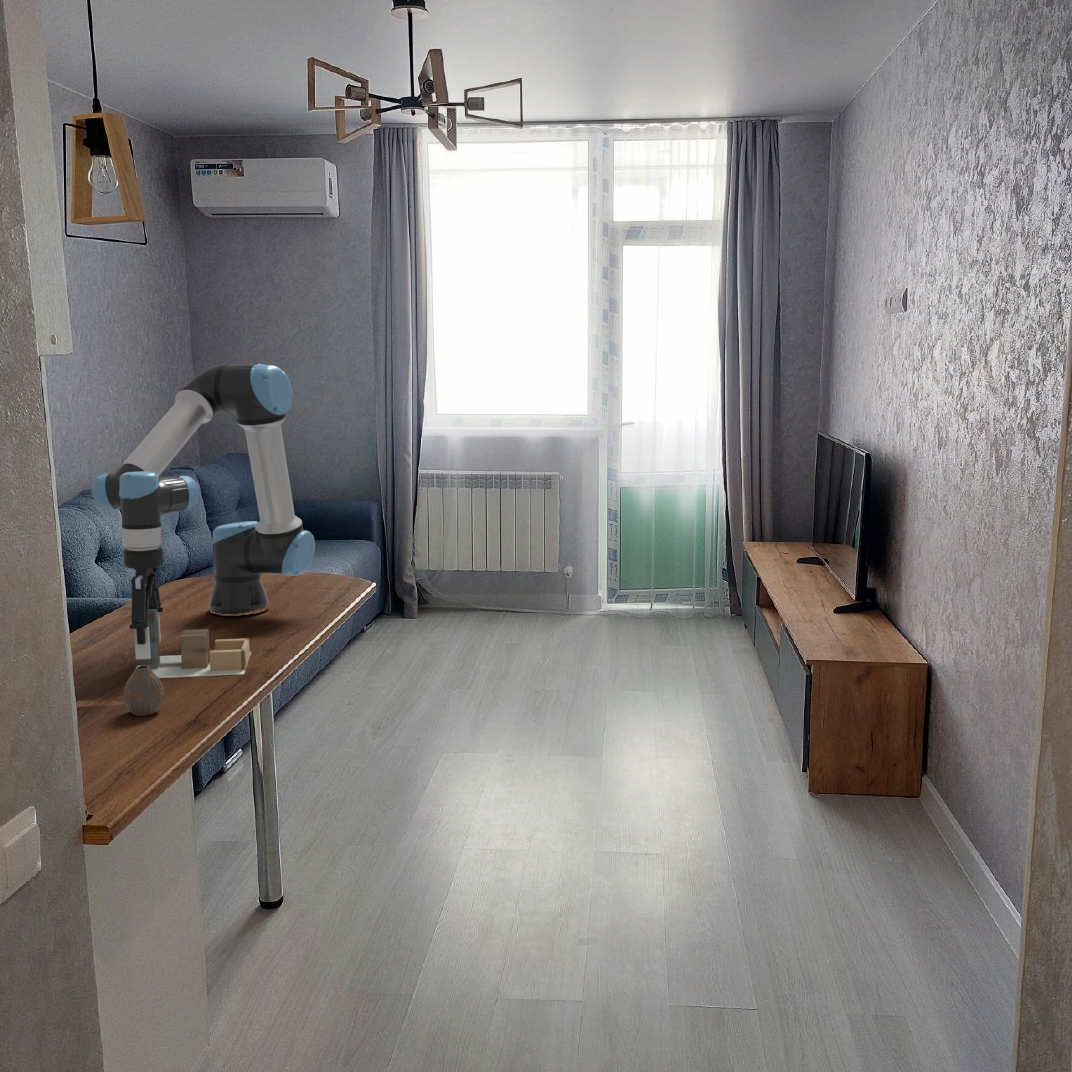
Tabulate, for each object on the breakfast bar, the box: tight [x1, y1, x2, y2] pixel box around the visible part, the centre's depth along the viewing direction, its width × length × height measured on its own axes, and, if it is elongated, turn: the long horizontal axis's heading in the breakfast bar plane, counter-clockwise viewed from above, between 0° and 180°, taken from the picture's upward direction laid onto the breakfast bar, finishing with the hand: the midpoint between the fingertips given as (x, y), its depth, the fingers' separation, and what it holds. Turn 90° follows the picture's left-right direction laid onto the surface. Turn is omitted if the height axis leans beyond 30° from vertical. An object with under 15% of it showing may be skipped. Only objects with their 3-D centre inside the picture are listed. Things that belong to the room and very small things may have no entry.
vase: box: [123, 665, 165, 717], centre depth 184 cm, size 7×7×9 cm
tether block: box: [138, 609, 211, 669], centre depth 209 cm, size 5×14×12 cm, turn 101°
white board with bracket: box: [151, 637, 252, 679], centre depth 211 cm, size 16×22×5 cm
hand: (148, 650), depth 209 cm, fingers open, 11 cm apart
